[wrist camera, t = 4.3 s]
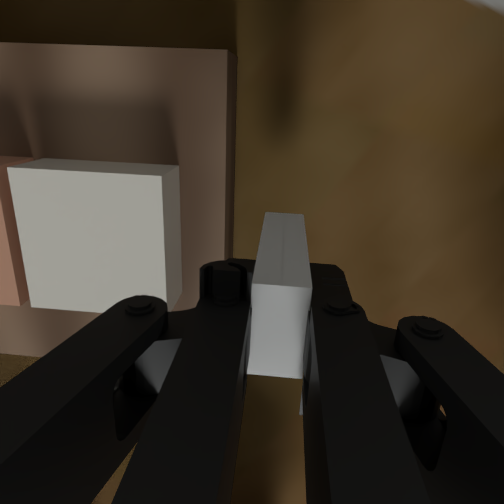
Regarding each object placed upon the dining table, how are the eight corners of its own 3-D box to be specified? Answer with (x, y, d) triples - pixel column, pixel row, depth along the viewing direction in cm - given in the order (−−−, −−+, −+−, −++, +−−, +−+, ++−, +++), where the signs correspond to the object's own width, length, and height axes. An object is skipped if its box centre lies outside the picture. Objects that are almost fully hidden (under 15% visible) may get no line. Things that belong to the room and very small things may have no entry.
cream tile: (179, 165, 17) (161, 175, 15) (182, 291, 20) (167, 318, 17) (44, 158, 18) (6, 167, 16) (61, 282, 20) (31, 307, 18)
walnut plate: (237, 56, 18) (227, 49, 16) (230, 341, 24) (222, 373, 21) (-94, 45, 20) (-158, 37, 17) (-29, 318, 25) (-70, 346, 22)
